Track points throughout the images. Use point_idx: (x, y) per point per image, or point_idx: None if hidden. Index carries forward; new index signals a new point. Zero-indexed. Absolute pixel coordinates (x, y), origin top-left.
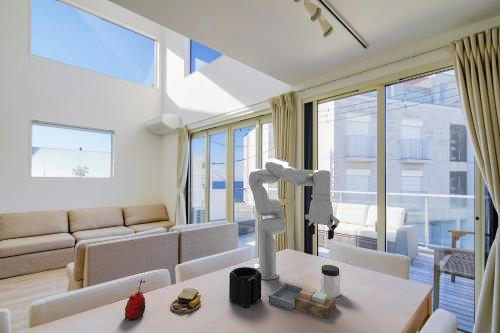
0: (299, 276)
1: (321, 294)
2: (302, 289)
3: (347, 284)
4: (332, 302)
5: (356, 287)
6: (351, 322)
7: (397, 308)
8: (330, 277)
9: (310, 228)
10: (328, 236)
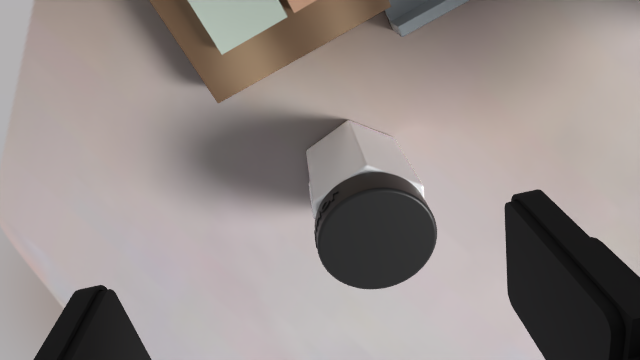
0: (594, 150)
1: (240, 21)
2: (419, 12)
3: (382, 298)
4: (181, 47)
5: (339, 310)
6: (79, 54)
7: None
8: (329, 186)
9: (589, 274)
10: (74, 319)
